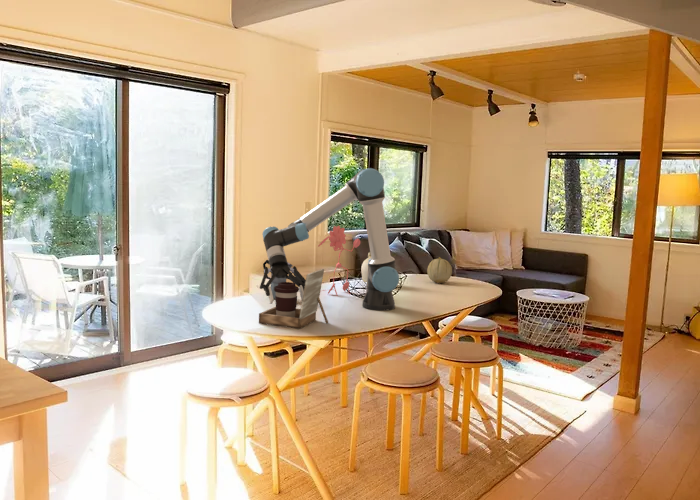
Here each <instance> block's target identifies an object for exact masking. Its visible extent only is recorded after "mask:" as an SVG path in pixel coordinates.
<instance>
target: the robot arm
mask: <svg viewBox="0 0 700 500" xmlns="http://www.w3.org/2000/svg"><path fill="white" fill-rule="evenodd" d="M384 187H385V179H384V176H383V175H382V174H381V172H380V171H379V170H377V169H375V168H372V167H368V168H363V169H361V170H359V171H358V172H357V173H356V174H355V175H354V176H353V177H352V178H350V179H349V180H348V181H346V182H345V184H344V186H343V187H342V188H340V189H339V190H338V191H335V193H333V194H332V195H330V196H329V197H327V198H326V199H325V200H324V201H321V202H320V203H319V204H318V205H316V206H315V207H313V208H312V209H311V210H309V211H307V212H306V213H305V214H303V215H302V216H300V218H298V219H296V220H295V221H294V222H291V223H290V224H289V225H288V226H287V227H284V228H278V226H277V227H276V226H268V227H266V228H265V229H264V230H263V231H262V240H263V243H264V247H265V252H266V255H267V260H269V264H268V265H269V267H267V266H266V267H265V269H264V268H263V277H262V280H261V282H260V285H259V289H261V290H263V291H264V292H265V295H266V297H268V296H269V297H268V300H269V304H270V305H271V304H273V303H274V299H273V295H272V291H271V283H272V282H273V280H274V279H275V278H276V277H277V278H285V277H286V278H287V279H286V280H289V281H291V283H295V285H296V286H297V287H299V291H298V292H299V296H300V299H301V301H302V300H303V294H304V288H305V282H306V278H305V277H304V276H303V275H302V274H301V273H300V271H299V270H298V268H297V267H296V266H295V265H293V266H292V267H291V268H289V267H288V263H289V262H288V259H287V257H286V256H287V255H286V252H285V249H284V247H287V246H290V245H293V244H297V243H299V242H303V241H305V240H308V239H309V238H310V235H309V232H311V231H313V230H314V229H315V228H316V227H318V226H319V225H320V224H322V223H323V222H326V220H328V219H330V217H332V216H334V215H335V214H337V213H338V212H339V211H341V210H342V209H344V208H345V207H347V206H349V204H351V203H353V202H354V201H358V202H359V204H360V205H361V206H362V209H363V215H364V220H365V228H366V233H367V240H368V246H369V252H370V253H371V259H369V261H368V279H367V286H366V291H365V295H364V297H363V300H362V305H361V306H362V308H364V309H367V310H372V311H391V310H394V309H395V307H396V303H395V299H394V295H393V291H394V290H395V289H396V288H397V286H398V285H399V282H400V274H399V272H398V271H397V266H396V265H397V264H396V258H394V257H393V256H392V255H391V250H390V244H389V243H390V242H389V237H388V232H387V231H388V230H387V225H386V217H385V212H384V205H383V201H384V200H385V199H386V196H385V195H386V194H385V189H384ZM287 262H288V263H287ZM271 273H272V274H273V275H272V277H271V276H270V279H268V280H267V279H266V277H267V275H269V274H271ZM266 280H267V282H266ZM265 283H266V284H265Z"/></svg>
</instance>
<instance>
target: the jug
mask: <svg viewBox="0 0 700 500" xmlns="http://www.w3.org/2000/svg"><path fill="white" fill-rule="evenodd" d="M369 259H371V253H370V251H369V252H368V254H367V258H366V259H364V260H363V262H362V263H361V271H360V272H361V278H362V279H361V281H362V280H363V281H364V282H367V279H368V261H369ZM363 281H362V282H363Z"/></svg>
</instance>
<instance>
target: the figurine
mask: <svg viewBox="0 0 700 500" xmlns="http://www.w3.org/2000/svg"><path fill="white" fill-rule="evenodd" d="M345 231H346V229H345V227H341V226H340V225H337V226H336V225H334V226H333V228H332V230H330V231H329V235H328V236H326V237H325V238H324V239H322V241H321V242H320V243H319V244H318V245H317V248H318V247H320V246H322V245H323V244H324V243H325V242H326V241H327V240H328V241H329V242H330V243H329V247H332V248H333V250H334V252H337V251H340V252H339V253H338V261H337V263H336V264H335V269H334V271H333V275H335V272H336V270H337V269H341V268H343V269H345V270H347V273H346V281H345V282H344V284H342V290H343V291H344V292H346V289H347V290H348V294H350V295H351V292H350V287H349V286H350V282H349V281H348V275H349V269H348V268H346V267H343V266H342V265H343V264H342V263H340V259H341V253H342V252H343V251H344V250H345V251H347V252H351V253H352V252H353V250H354V248H355V249H357V248H358V247H359V246H360V245H361V240H360V238H355V240H354V241H353V243H352V244H353V247H352V249H351V250H350V249H347V248H344V246H343V245H345V244H347V242H346V241H347V239H346V237H347V236H346V233H345ZM332 281H333V282H332V286H331V287H330V289H328V292H327V295H329V294H330V293H331V291H335V296H337V297H338V292H337V289H336V286H335V285H336V283H335V277H333V279H332ZM333 288H334V289H333ZM322 291H325V289H322ZM349 292H350V293H349Z"/></svg>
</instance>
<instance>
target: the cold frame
mask: <svg viewBox="0 0 700 500" xmlns="http://www.w3.org/2000/svg"><path fill="white" fill-rule="evenodd" d="M324 272H325V269H324V268H321V269H319V270H316V271H312V272H310V273H307V274H306V276H305V277H306V278H305V280H306V282H305V288H304V294H303V300H301V305H300V306H301V307H300V308H297V307H296V310H295V318H293V317H286V316H278V315H277V313H276V306H273V307H272V308H269V309H267V310H264V311H262V312H260V313H258V324H260V323H262V324H261V325H267V324H268V325H267V326H276V327H281V328H283V327H284V328H290V329H297V330H301V329H303V328H304V327H306V326H309V325H310V324H312V323H313V322H315V321H316V319H317V312H318V308H320V311H321V313H322V316H323V320H324V321H325V324H329V320H328V318H327V315H326V313H325V310H324V307H323V304H322V301H321V299H320V295H321V292H322V289H321V288H322V283H323V279H324ZM318 306H319V307H318Z"/></svg>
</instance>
